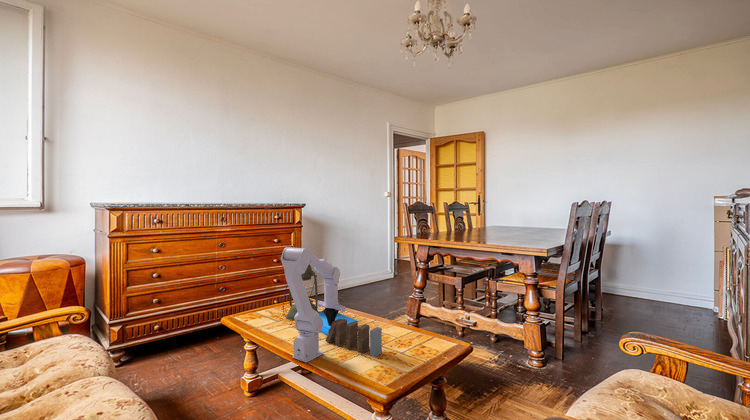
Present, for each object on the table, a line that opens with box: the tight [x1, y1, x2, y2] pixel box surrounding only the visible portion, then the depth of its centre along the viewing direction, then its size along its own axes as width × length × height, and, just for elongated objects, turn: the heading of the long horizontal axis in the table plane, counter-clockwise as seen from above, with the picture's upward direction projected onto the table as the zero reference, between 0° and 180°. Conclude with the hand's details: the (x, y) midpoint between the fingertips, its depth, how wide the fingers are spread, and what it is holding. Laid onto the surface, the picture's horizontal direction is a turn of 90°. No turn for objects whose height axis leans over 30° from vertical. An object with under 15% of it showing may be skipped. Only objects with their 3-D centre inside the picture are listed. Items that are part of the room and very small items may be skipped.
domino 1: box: [324, 318, 342, 344], centre depth 152 cm, size 2×5×10 cm, turn 145°
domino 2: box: [335, 319, 347, 347], centre depth 149 cm, size 2×5×10 cm, turn 145°
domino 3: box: [345, 321, 359, 351], centre depth 146 cm, size 2×5×10 cm, turn 145°
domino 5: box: [369, 326, 383, 358], centre depth 139 cm, size 2×5×10 cm, turn 144°
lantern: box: [282, 264, 319, 322], centre depth 188 cm, size 21×18×30 cm
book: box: [318, 310, 359, 336], centre depth 173 cm, size 17×4×25 cm
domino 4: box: [357, 323, 370, 354], centre depth 142 cm, size 2×5×10 cm, turn 145°
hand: (331, 325), depth 152 cm, fingers closed
